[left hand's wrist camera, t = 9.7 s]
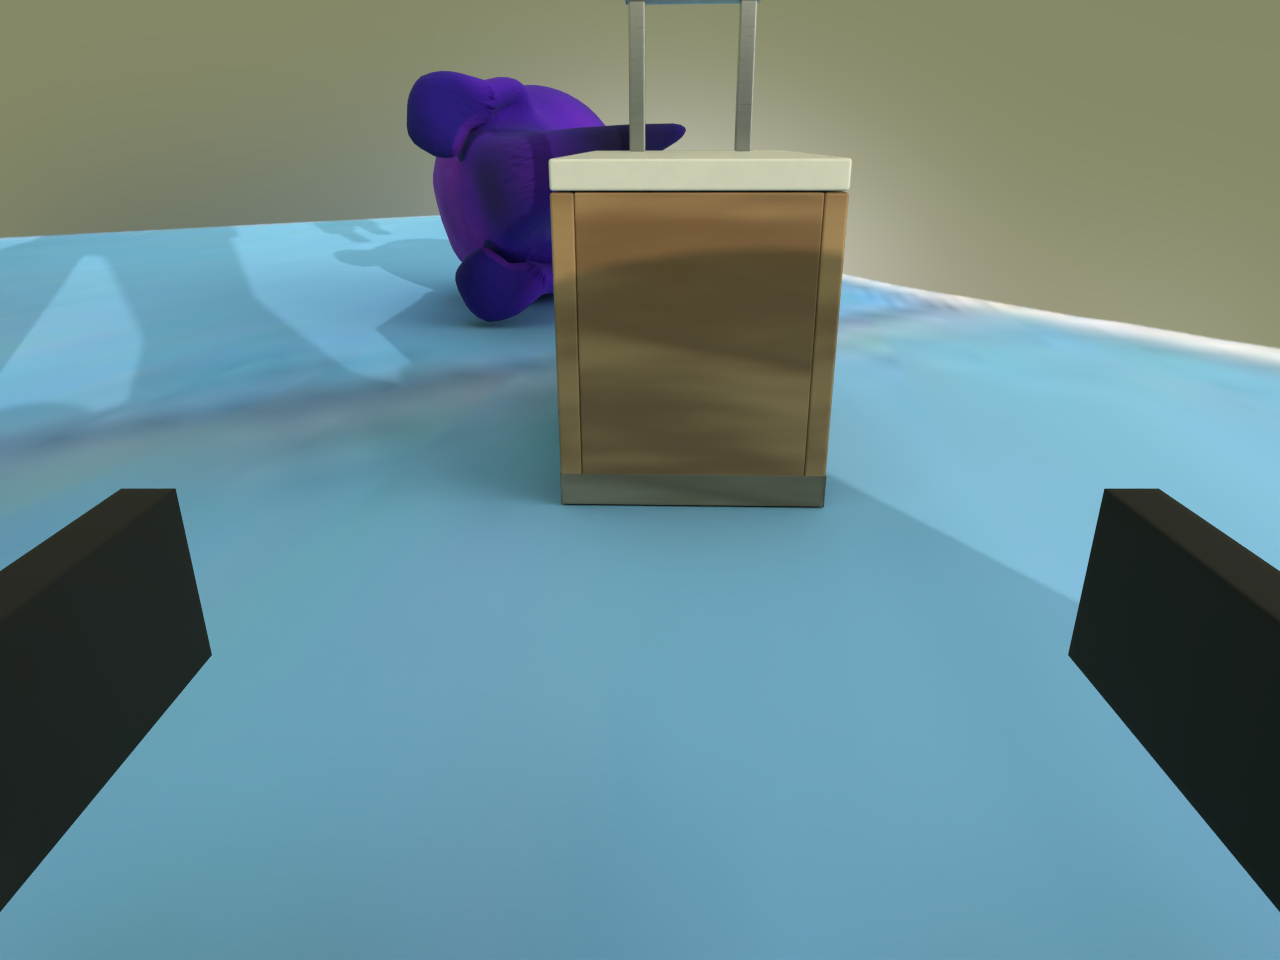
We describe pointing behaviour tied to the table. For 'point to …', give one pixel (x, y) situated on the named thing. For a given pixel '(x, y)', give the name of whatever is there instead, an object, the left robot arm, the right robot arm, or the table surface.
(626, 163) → the lid
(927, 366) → the table surface
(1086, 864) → the table surface
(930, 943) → the table surface
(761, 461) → the chest
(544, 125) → the toy
